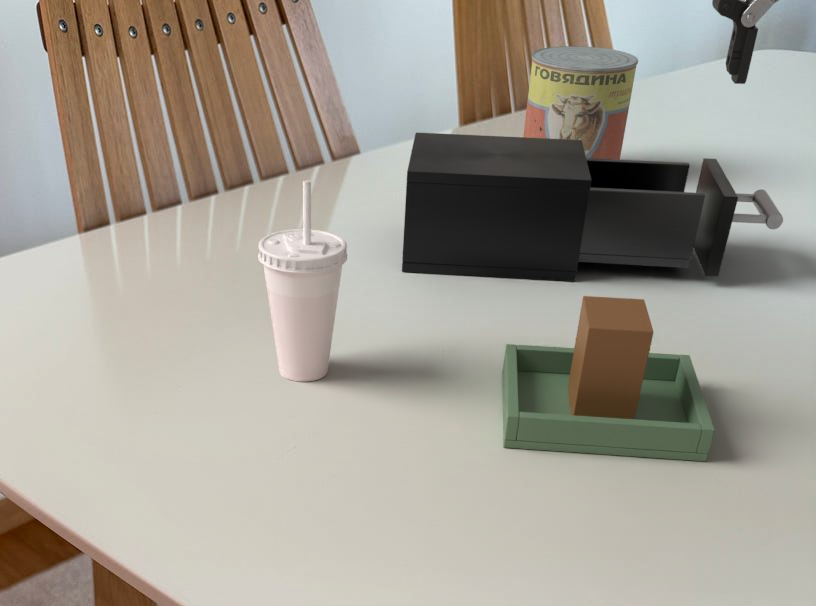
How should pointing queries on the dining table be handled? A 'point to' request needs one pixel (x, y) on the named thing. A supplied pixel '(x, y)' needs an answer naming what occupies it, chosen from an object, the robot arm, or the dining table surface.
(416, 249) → the black box
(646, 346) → the block
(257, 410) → the dining table surface
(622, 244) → the pull-out drawer box
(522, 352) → the tray
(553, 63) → the canned food
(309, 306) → the smoothie
